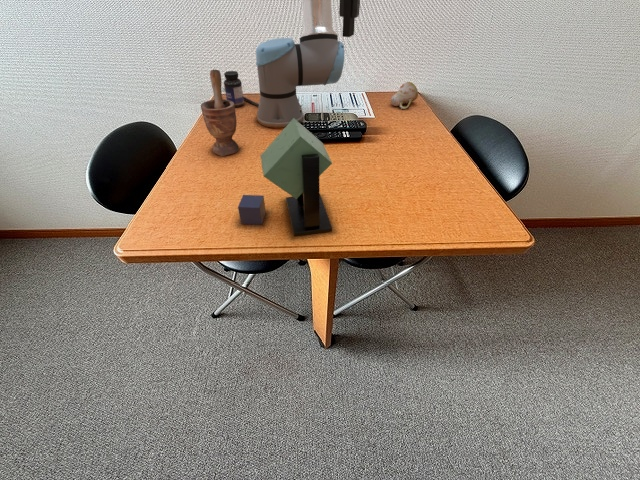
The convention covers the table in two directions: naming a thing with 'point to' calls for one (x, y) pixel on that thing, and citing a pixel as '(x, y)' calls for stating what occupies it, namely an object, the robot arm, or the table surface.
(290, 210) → the stand
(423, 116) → the table surface
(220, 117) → the mortar and pestle
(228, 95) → the pill bottle
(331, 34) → the robot arm
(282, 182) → the green square planter
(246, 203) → the block
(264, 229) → the table surface
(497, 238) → the table surface
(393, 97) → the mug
